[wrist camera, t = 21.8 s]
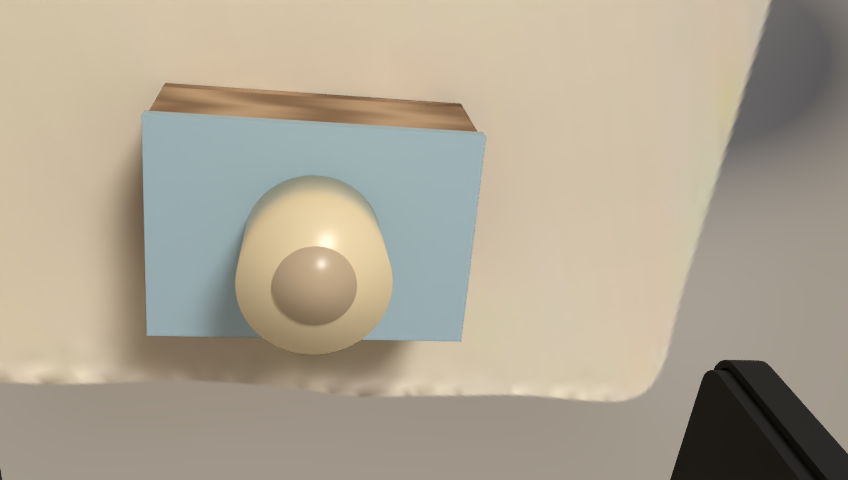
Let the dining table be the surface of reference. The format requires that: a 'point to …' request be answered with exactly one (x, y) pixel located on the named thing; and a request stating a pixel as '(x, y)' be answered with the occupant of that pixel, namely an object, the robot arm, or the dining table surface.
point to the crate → (311, 107)
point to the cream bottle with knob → (313, 266)
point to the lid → (288, 158)
